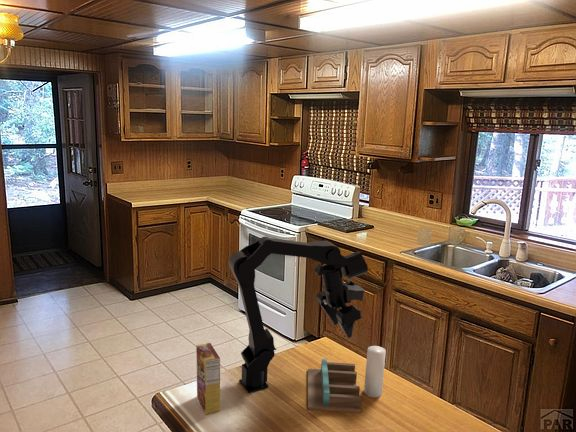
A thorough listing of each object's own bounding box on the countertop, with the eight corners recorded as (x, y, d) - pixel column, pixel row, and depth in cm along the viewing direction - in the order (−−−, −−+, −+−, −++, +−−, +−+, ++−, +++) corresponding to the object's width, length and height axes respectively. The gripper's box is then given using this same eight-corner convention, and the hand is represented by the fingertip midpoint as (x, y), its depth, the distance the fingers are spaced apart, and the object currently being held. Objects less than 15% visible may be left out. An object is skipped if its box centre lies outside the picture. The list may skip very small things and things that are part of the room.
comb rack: (361, 412, 123) (362, 396, 122) (307, 409, 123) (308, 393, 122) (353, 373, 142) (354, 359, 141) (307, 370, 143) (308, 356, 142)
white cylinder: (371, 399, 129) (375, 355, 127) (360, 390, 133) (363, 348, 131) (385, 394, 132) (389, 352, 129) (373, 386, 136) (377, 344, 133)
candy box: (195, 396, 126) (195, 344, 123) (210, 393, 128) (211, 341, 125) (203, 415, 118) (204, 360, 115) (220, 411, 120) (221, 357, 117)
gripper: (373, 285, 129) (382, 334, 133) (344, 265, 146) (352, 309, 151) (337, 298, 126) (347, 348, 130) (311, 276, 143) (321, 321, 148)
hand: (342, 330), depth 140 cm, fingers open, 9 cm apart
